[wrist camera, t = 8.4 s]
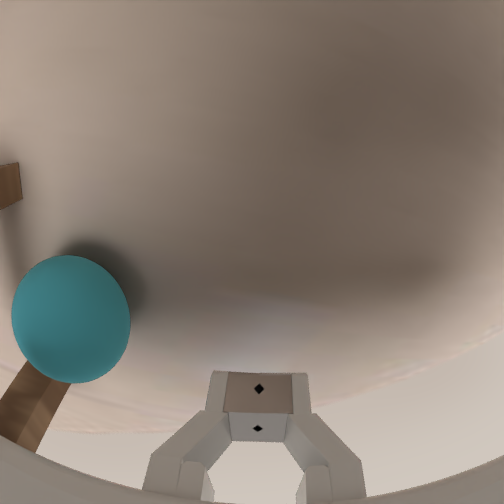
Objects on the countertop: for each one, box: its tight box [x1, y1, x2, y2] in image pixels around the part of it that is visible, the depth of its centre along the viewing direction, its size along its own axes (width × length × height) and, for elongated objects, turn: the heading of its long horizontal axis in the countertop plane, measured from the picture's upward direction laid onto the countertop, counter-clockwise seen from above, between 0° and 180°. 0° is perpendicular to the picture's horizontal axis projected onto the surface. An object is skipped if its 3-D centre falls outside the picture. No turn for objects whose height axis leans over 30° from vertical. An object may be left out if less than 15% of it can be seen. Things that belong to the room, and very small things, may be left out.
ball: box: [12, 255, 130, 383], centre depth 12 cm, size 6×6×6 cm
